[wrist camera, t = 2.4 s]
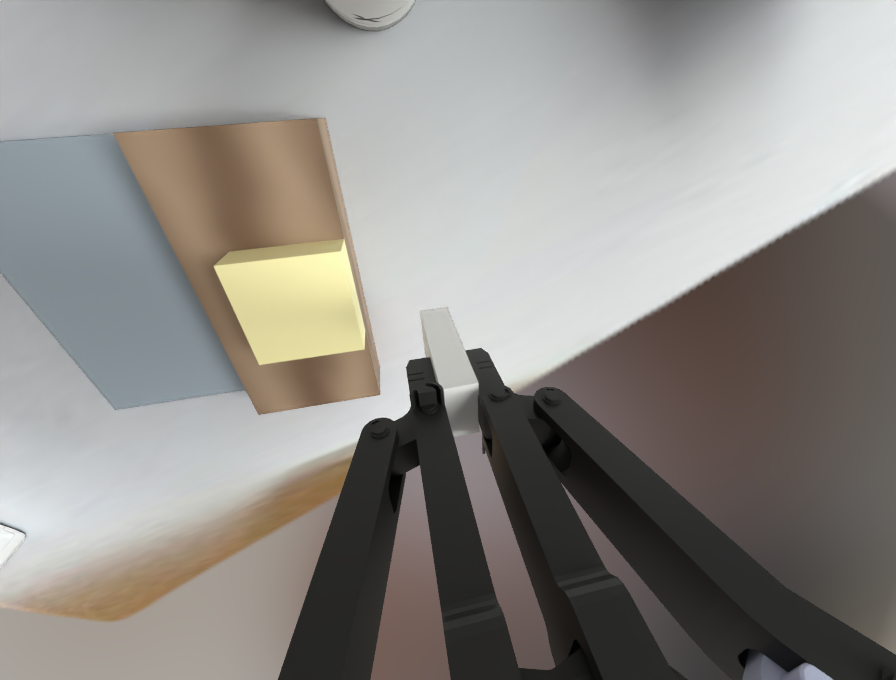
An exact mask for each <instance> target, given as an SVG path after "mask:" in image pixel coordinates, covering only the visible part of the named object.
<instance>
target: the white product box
mask: <svg viewBox="0 0 896 680" xmlns="http://www.w3.org/2000/svg"><path fill="white" fill-rule="evenodd" d="M24 540H25V534H23V533H21V532H19V531H17V530H14V529H12V528H9V527H6V526H3V525H0V569H1V568H2V567H3V566H4V564H5V563H6V562H7V561H8V560H9V558H10V557H11V556H12V555H13V554H14V553H15V551H16V550H17V549H18V548H19V547H20V545H21V544H22V543H23V542H24Z"/></svg>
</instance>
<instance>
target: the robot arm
mask: <svg viewBox="0 0 896 680" xmlns="http://www.w3.org/2000/svg"><path fill="white" fill-rule="evenodd" d="M420 315H421V323H422V332H423V340H424V348H425V354H426V358H421V359H415V360H410V361H409V363H408V365H407V367H406V370H407V377H408V384H409V391H410V401H411V408H410V410H409V412H408V413H407V414H406V415H405V416H403V417H402V418H400V419H398V420H396V421H392V420H391V419H389V418H377V419H374V420H372V421H370V422H369V423H368V424H366V425H365V426H364V428H363V430H362V432H361V435H360V438H359V441H358V444H357V447H356V450H355V453H354V456H353V459H352V462H351V465H350V467H349V470H348V473H347V476H346V479H345V482H344V485H343V488H342V491H341V494H340V497H339V500H338V503H337V506H336V509H335V512H334V515H333V518H332V521H331V524H330V527H329V530H328V533H327V536H326V539H325V542H324V544H323V548H322V550H321V553H320V557H319V559H318V562H317V565H316V568H315V571H314V575H313V577H312V580H311V583H310V586H309V589H308V592H307V595H306V598H305V601H304V604H303V607H302V610H301V613H300V616H299V619H298V621H297V624H296V628H295V631H294V633H293V636H292V639H291V642H290V645H289V648H288V651H287V654H286V657H285V660H284V663H283V666H282V669H281V672H280V675H279V678H278V680H370V678H371V673H372V667H373V661H374V655H375V650H376V643H377V638H378V632H379V626H380V621H381V615H382V609H383V603H384V598H385V592H386V586H387V581H388V575H389V569H390V562H391V557H392V551H393V546H394V540H395V535H396V529H397V523H398V517H399V511H400V505H401V499H402V494H403V488H404V483H405V477H406V472H407V471H409V470H411V469H413V468H415V467H417V466H419V465H420V468H421V475H422V482H423V488H424V495H425V501H426V509H427V516H428V523H429V529H430V536H431V544H432V550H433V557H434V564H435V570H436V577H437V584H438V590H439V591H438V592H439V598H440V605H441V612H442V620H443V627H444V635H445V642H446V649H447V656H448V663H449V670H450V677H451V680H687V679H686V678H685V677H684V676H682V675H681V674H680V673H679V672H677V671H676V670H675V669H674V668H672V667H671V666H669V665H668V663H667V661H666V659H665V657H664V656H663V654H662V652H661V650H660V648H659V646H658V645H657V643H656V641H655V639H654V637H653V635H652V634H651V632H650V630H649V628H648V626H647V625H646V623H645V621H644V619H643V617H642V615H641V613H640V612H639V610H638V608H637V606H636V604H635V603H634V601H633V599H632V597H631V595H630V593H629V592H628V590H627V589H626V587H625V586H624V584H623V583H622V582H621V580H620V579H619V578H618V577H616V576H614V575H612V574H610V573H609V572H608V571H607V569H606V568H605V566H604V565H603V562H602V561H601V559H600V557H599V555H598V553H597V551H596V549H595V548H594V545H593V543H592V541H591V540H590V538H589V536H588V534H587V532H586V530H585V528H584V526H583V524H582V522H581V520H580V519H579V517H578V515H577V513H576V511H575V509H574V507H573V505H572V504H571V501H570V499H569V498H568V496H567V494H566V492H565V490H564V488H563V486H562V484H563V485H564V487H565V488H566V489H567V490H568V491H569V493H570V494H571V495H572V496H573V497H574V499H575V500H576V501H577V502H578V503H579V505H580V506H581V507H582V508H583V509H584V511H585V512H586V513H587V514H588V515H589V517H590V518H591V519H592V520H593V521H594V523H595V524H596V525H597V526H598V527H599V528H600V530H601V531H602V532H603V533H604V534H605V536H606V537H607V538H608V539H609V540H610V542H611V543H612V544H613V545H614V546H615V548H616V549H617V550H618V551H619V552H620V554H621V555H622V556H623V557H624V558H625V560H626V561H627V562H628V563H629V564H630V566H631V567H632V568H633V569H634V570H635V571H636V573H637V574H638V575H639V576H640V577H641V579H642V580H643V581H644V582H645V584H646V585H647V586H648V587H649V588H650V590H652V592H653V593H654V594H655V596H656V597H657V598H658V599H659V600H660V602H661V603H662V604H663V605H664V606H665V607H666V609H667V610H668V611H669V612H670V613H671V615H672V616H673V617H674V618H675V619H676V621H677V622H678V623H679V624H680V625H681V627H682V628H683V629H684V630H685V631H686V633H687V634H688V635H689V636H690V637H691V638H692V639H693V641H695V643H696V644H697V645H698V646H699V647H700V648H701V649H702V650H703V652H704V653H705V654H706V655H707V656H708V657H709V658H710V659H711V660H712V661H713V662H714V663H715V664H716V665H717V666H718V667H719V668H720V669H721V670H722V671H723V672H725V674H726V675H727V676H728V677H729V678H731V679H732V680H896V655H895V654H893V653H892V652H890V651H888V650H887V649H885V648H884V647H882V646H880V645H879V644H877V643H876V642H874V641H872V640H870V639H869V638H867V637H866V636H864V635H862V634H861V633H859V632H858V631H856V630H854V629H853V628H851V627H849V626H848V625H846V624H845V623H843V622H841V621H839V620H838V619H836V618H835V617H833V616H831V615H830V614H828V613H827V612H825V611H823V610H822V609H820V608H818V607H817V606H815V605H814V604H812V603H810V602H809V601H807V600H805V599H804V598H802V597H801V596H799V595H797V594H796V593H794V592H792V591H791V590H789V589H787V588H786V587H785V586H784V585H782V584H781V583H780V582H779V581H778V580H777V579H776V578H774V577H773V576H772V575H771V574H769V572H768V571H766V570H765V569H764V568H763V567H762V566H761V565H759V563H757V562H756V561H755V560H754V559H753V558H752V557H751V556H749V555H748V554H747V553H746V552H745V551H744V550H743V549H742V548H740V547H739V546H738V545H737V544H736V543H735V542H734V541H732V540H731V539H730V538H729V537H728V536H727V535H726V534H724V533H723V532H722V531H721V530H720V529H719V528H717V527H716V526H715V525H714V524H713V523H712V522H711V521H710V520H709V519H707V518H706V517H705V516H704V515H703V514H702V513H701V512H700V511H698V510H697V509H696V508H695V507H694V506H693V505H692V504H690V503H689V502H688V501H687V500H686V499H685V498H684V497H682V496H681V495H680V494H679V493H678V492H677V491H676V490H675V489H673V488H672V487H671V486H670V485H669V484H668V483H667V482H665V481H664V480H663V479H662V478H661V477H660V476H659V475H657V474H656V473H655V472H654V471H653V470H652V469H651V468H649V467H648V466H647V465H646V464H645V463H644V462H643V461H642V460H640V459H639V458H638V457H637V456H636V455H635V454H634V453H633V452H631V451H630V450H629V449H628V448H627V447H625V445H623V444H622V443H621V442H620V441H619V440H618V439H617V438H615V437H614V436H613V435H612V434H611V433H610V432H609V431H608V430H606V429H605V428H604V427H603V426H602V425H600V423H598V422H597V421H596V420H595V419H594V418H593V417H592V416H590V415H589V414H588V413H587V412H586V411H585V410H584V409H582V408H581V407H580V406H579V405H578V404H577V403H576V402H575V401H573V400H572V399H571V398H570V397H569V396H568V395H567V394H566V393H564V392H563V391H561V390H560V389H556V388H553V387H545V388H541V389H539V390H537V391H536V393H535V395H534V396H523V395H518V394H515V393H514V392H513V391H512V390H511V389H510V388H508V387H506V386H505V385H504V383H503V381H502V379H501V377H500V375H499V374H498V372H497V370H496V368H495V366H494V364H493V362H492V360H491V358H490V356H489V354H488V353H487V352H486V351H484V350H483V349H482V348H478V349H472V350H466V351H465V349H464V347H463V344H462V342H461V339H460V337H459V335H458V332H457V330H456V327H455V325H454V322H453V320H452V318H451V315H450V313H449V310H448V308H447V307H444V308H437V309H430V310H423V311H420ZM479 424H480V427H481V430H482V450H483V454H484V453H485V450H486V453H487V456H488V458H489V461H490V464H491V467H492V470H493V473H494V476H495V479H496V482H497V485H498V488H499V490H500V493H501V496H502V499H503V502H504V505H505V508H506V511H507V514H508V516H509V519H510V522H511V525H512V528H513V531H514V534H515V536H516V540H517V543H518V545H519V548H520V551H521V554H522V557H523V560H524V563H525V566H526V568H527V572H528V574H529V577H530V580H531V583H532V586H533V589H534V592H535V595H536V598H537V600H538V603H539V606H540V609H541V612H542V615H543V618H544V621H545V624H546V627H547V632H548V639H549V644H550V648H551V653H552V656H553V659H554V663H555V666H556V667H555V668H553V669H551V670H537V669H525V668H518V664H517V661H516V657H515V653H514V650H513V646H512V642H511V639H510V635H509V631H508V628H507V624H506V621H505V617H504V615H503V612H502V609H501V607H500V605H499V603H498V601H497V598H496V595H495V591H494V588H493V584H492V581H491V577H490V572H489V569H488V565H487V562H486V557H485V554H484V550H483V546H482V543H481V539H480V535H479V531H478V527H477V524H476V520H475V516H474V512H473V508H472V505H471V501H470V498H469V493H468V490H467V486H466V483H465V478H464V475H463V471H462V467H461V463H460V460H459V456H458V452H457V448H456V445H455V441H454V437H455V436H460V435H465V434H471V433H476V432H479ZM561 483H562V484H561Z"/></svg>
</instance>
